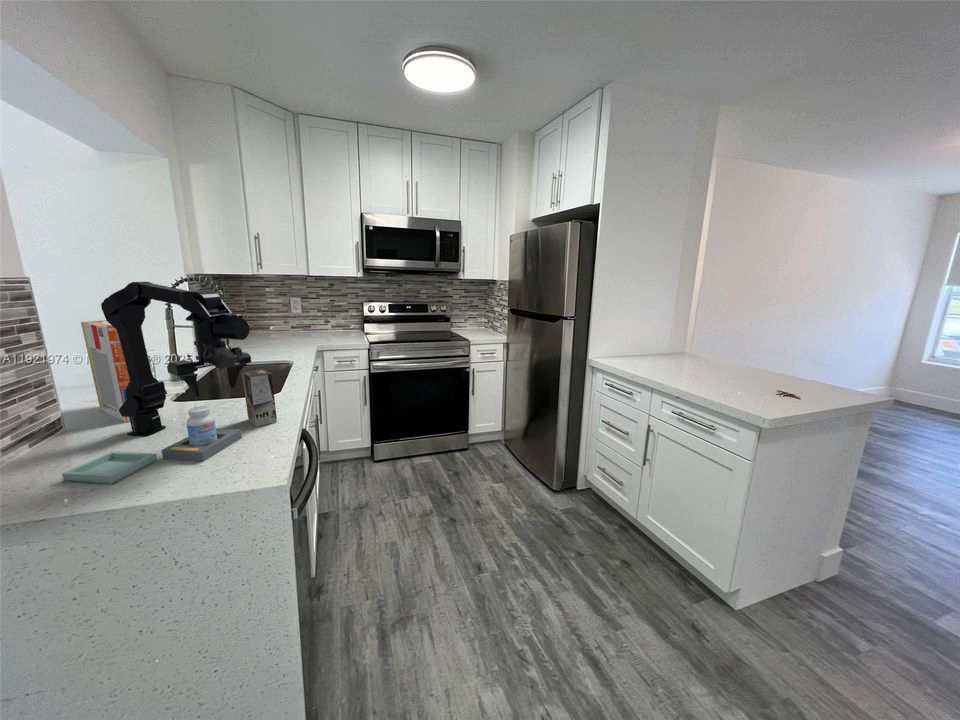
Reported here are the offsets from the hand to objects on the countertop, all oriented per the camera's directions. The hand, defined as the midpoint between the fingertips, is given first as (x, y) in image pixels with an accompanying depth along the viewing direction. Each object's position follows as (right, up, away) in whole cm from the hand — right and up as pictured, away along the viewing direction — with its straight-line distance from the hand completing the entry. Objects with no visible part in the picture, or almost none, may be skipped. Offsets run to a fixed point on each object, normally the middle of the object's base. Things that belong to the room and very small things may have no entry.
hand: (215, 392), depth 106 cm
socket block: (-1, -15, -3) cm, 15 cm away
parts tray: (-14, -17, -16) cm, 27 cm away
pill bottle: (-1, -15, -3) cm, 15 cm away
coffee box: (+4, -11, +16) cm, 19 cm away
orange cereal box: (-45, -9, +21) cm, 50 cm away
